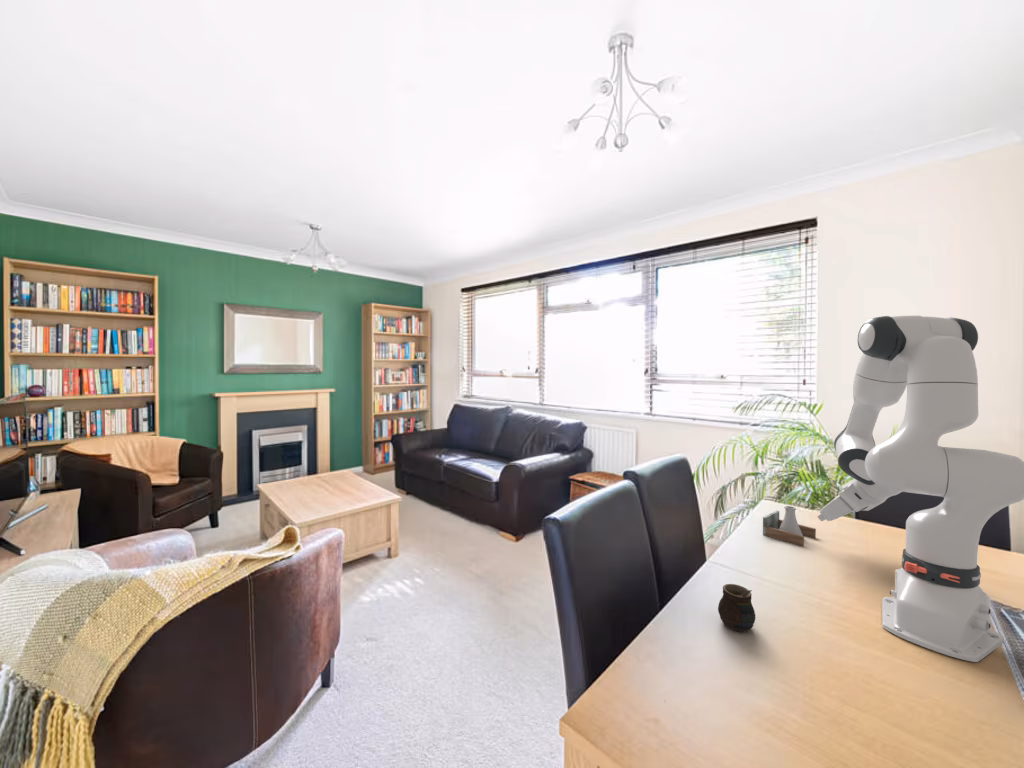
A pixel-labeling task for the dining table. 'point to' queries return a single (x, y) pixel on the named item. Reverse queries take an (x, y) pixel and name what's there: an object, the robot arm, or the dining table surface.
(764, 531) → the slot bay
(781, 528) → the flask
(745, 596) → the mate gourd
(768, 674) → the dining table surface
